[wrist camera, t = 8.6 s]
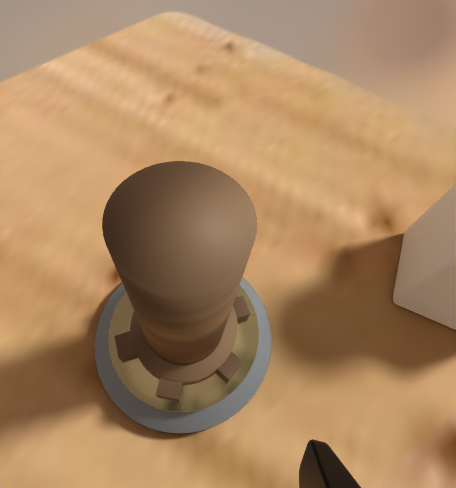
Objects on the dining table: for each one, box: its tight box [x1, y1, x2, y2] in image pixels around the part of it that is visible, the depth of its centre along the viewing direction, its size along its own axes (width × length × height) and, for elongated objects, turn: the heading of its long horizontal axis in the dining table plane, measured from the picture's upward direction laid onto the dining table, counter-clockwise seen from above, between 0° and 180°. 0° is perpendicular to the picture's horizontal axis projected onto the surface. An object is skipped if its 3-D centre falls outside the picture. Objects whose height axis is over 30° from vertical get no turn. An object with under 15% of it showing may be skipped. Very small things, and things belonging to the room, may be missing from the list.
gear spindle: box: [102, 161, 257, 402], centre depth 15 cm, size 8×7×12 cm
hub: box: [108, 285, 259, 413], centre depth 20 cm, size 9×9×1 cm
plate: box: [94, 277, 271, 433], centre depth 21 cm, size 11×11×1 cm
